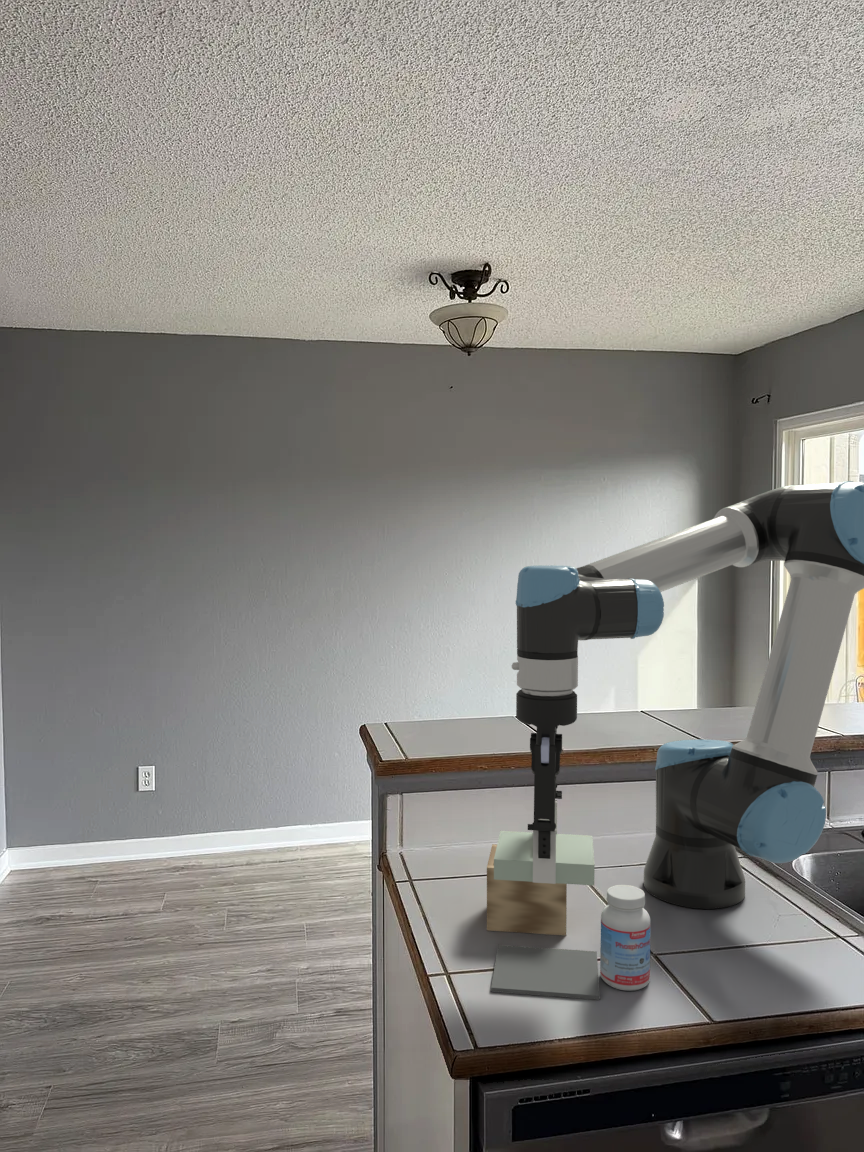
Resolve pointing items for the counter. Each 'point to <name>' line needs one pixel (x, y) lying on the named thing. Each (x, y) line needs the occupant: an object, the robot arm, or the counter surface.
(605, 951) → the pill bottle
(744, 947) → the counter surface
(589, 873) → the lid
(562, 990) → the mat
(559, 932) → the box
